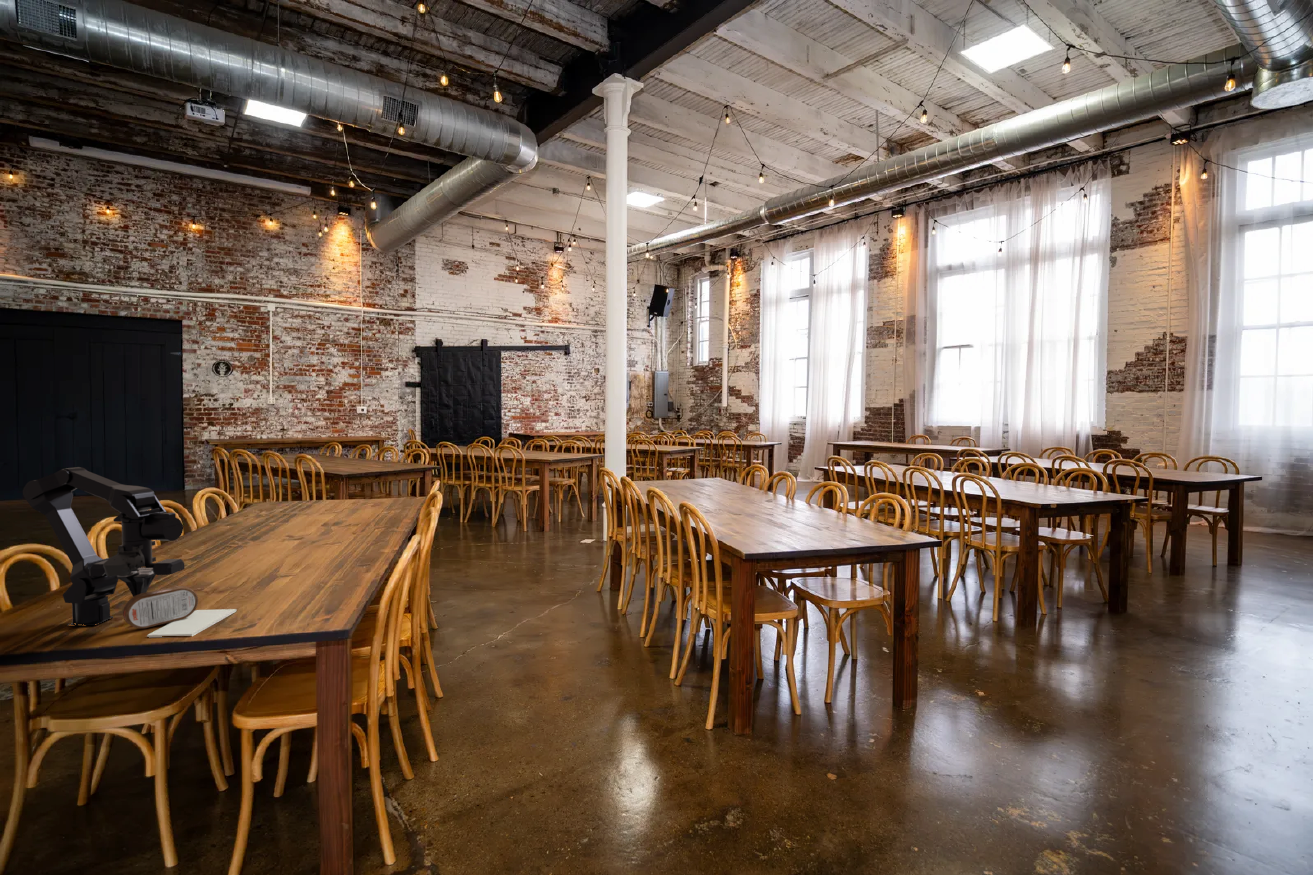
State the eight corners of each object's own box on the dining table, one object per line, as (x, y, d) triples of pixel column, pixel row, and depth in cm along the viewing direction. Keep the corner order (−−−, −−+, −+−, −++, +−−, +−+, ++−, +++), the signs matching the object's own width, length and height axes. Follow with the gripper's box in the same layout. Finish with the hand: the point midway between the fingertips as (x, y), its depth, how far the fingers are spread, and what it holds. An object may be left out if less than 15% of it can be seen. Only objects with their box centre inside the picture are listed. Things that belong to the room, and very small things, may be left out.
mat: (147, 637, 153) (147, 635, 153) (196, 612, 172) (196, 610, 172) (192, 636, 154) (191, 634, 154) (236, 611, 173) (236, 609, 173)
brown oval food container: (197, 613, 168) (194, 581, 168) (201, 615, 166) (197, 583, 166) (124, 631, 157) (120, 597, 156) (127, 633, 155) (123, 599, 154)
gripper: (70, 546, 151) (72, 612, 152) (155, 545, 153) (157, 610, 154) (105, 537, 162) (108, 598, 163) (184, 536, 164) (186, 597, 165)
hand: (139, 601), depth 161 cm, fingers closed
